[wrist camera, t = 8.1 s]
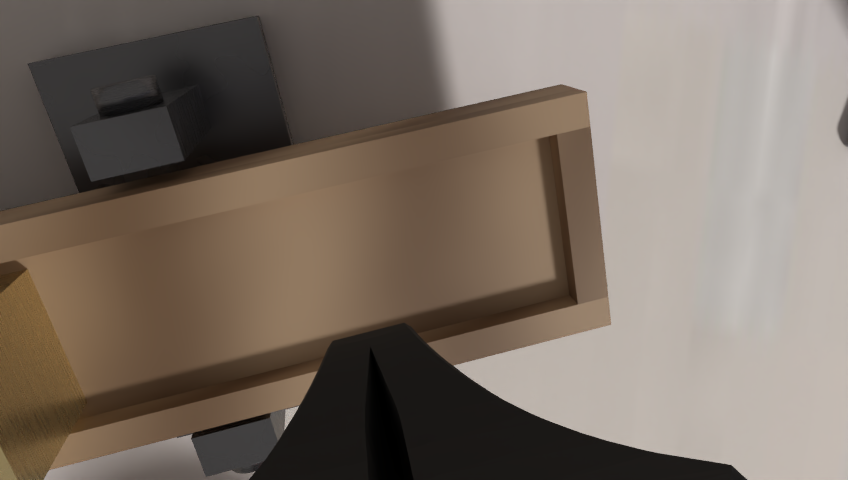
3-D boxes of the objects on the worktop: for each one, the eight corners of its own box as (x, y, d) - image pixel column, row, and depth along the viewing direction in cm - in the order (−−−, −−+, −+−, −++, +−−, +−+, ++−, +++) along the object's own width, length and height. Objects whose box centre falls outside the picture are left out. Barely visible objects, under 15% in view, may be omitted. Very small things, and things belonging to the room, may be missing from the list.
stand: (258, 15, 18) (240, 18, 14) (356, 377, 23) (369, 477, 18) (39, 61, 18) (-61, 80, 13) (181, 423, 22) (146, 539, 17)
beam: (535, 76, 18) (608, 98, 14) (561, 272, 20) (632, 346, 16) (-227, 247, 17) (-427, 335, 12) (-112, 440, 19) (-247, 577, 14)
